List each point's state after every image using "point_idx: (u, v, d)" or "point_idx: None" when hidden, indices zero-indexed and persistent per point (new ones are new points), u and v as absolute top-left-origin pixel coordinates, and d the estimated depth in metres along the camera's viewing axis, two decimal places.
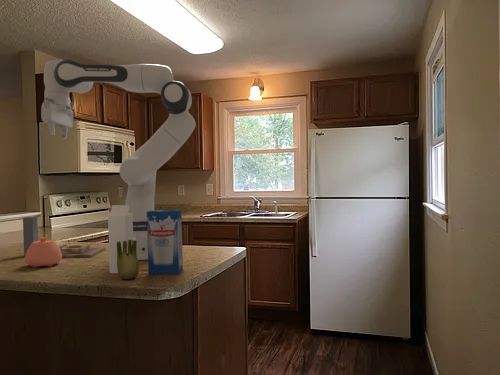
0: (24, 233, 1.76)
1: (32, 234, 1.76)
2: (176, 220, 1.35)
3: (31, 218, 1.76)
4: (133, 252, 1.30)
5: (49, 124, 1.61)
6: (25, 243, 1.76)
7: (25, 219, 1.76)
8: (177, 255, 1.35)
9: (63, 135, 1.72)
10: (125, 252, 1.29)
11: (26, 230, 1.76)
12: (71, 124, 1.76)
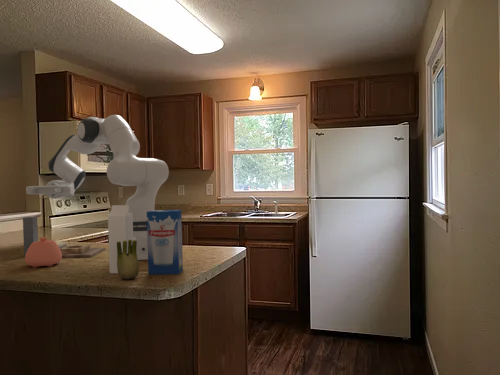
0: (24, 233, 1.76)
1: (32, 234, 1.76)
2: (176, 220, 1.35)
3: (31, 218, 1.76)
4: (133, 252, 1.30)
5: None
6: (25, 243, 1.76)
7: (25, 219, 1.76)
8: (177, 255, 1.35)
9: None
10: (125, 252, 1.29)
11: (26, 230, 1.76)
12: (66, 185, 1.96)
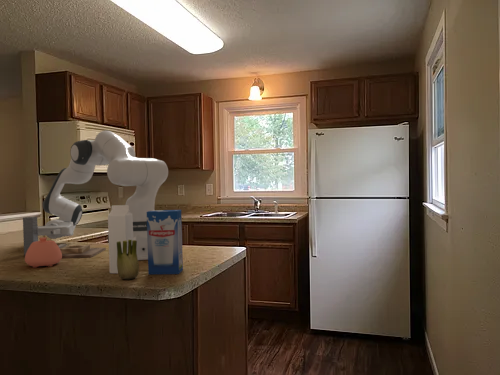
0: (24, 233, 1.76)
1: (32, 234, 1.76)
2: (176, 220, 1.35)
3: (31, 218, 1.76)
4: (133, 252, 1.30)
5: None
6: (25, 243, 1.76)
7: (25, 219, 1.76)
8: (177, 255, 1.35)
9: None
10: (125, 252, 1.29)
11: (26, 230, 1.76)
12: (65, 226, 1.93)
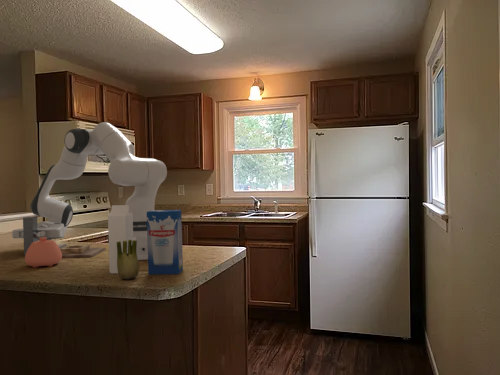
0: (24, 233, 1.76)
1: (32, 234, 1.76)
2: (176, 220, 1.35)
3: (31, 218, 1.76)
4: (133, 252, 1.30)
5: None
6: (25, 243, 1.76)
7: (25, 219, 1.76)
8: (177, 255, 1.35)
9: None
10: (125, 252, 1.29)
11: (26, 230, 1.76)
12: (55, 228, 1.83)
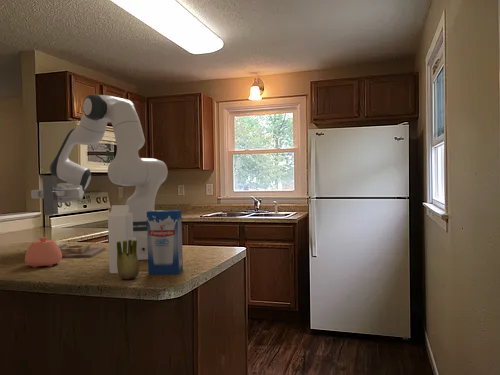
0: (44, 191, 1.75)
1: (52, 192, 1.76)
2: (176, 220, 1.35)
3: (51, 176, 1.75)
4: (133, 252, 1.30)
5: None
6: (45, 202, 1.76)
7: (45, 177, 1.75)
8: (177, 255, 1.35)
9: None
10: (125, 252, 1.29)
11: (45, 188, 1.75)
12: (75, 188, 1.83)
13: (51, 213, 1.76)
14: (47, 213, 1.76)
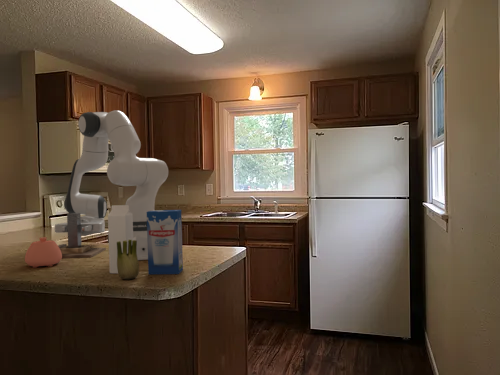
0: (68, 229, 1.76)
1: (77, 230, 1.76)
2: (176, 220, 1.35)
3: (75, 214, 1.76)
4: (133, 252, 1.30)
5: None
6: (69, 239, 1.76)
7: (69, 215, 1.76)
8: (177, 255, 1.35)
9: None
10: (125, 252, 1.29)
11: (70, 226, 1.76)
12: (98, 222, 1.84)
13: None
14: None
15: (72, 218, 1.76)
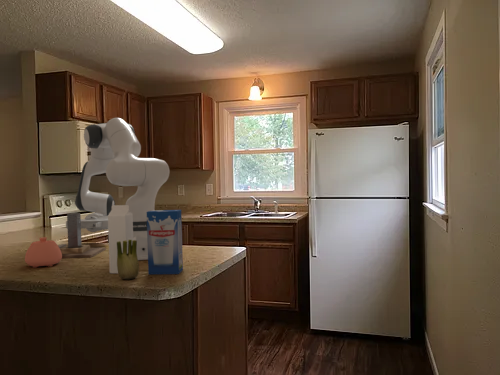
0: (68, 229, 1.76)
1: (77, 230, 1.76)
2: (176, 220, 1.35)
3: (75, 214, 1.76)
4: (133, 252, 1.30)
5: None
6: (69, 239, 1.76)
7: (69, 215, 1.76)
8: (177, 255, 1.35)
9: None
10: (125, 252, 1.29)
11: (70, 226, 1.76)
12: (106, 219, 1.96)
13: None
14: None
15: (72, 218, 1.76)
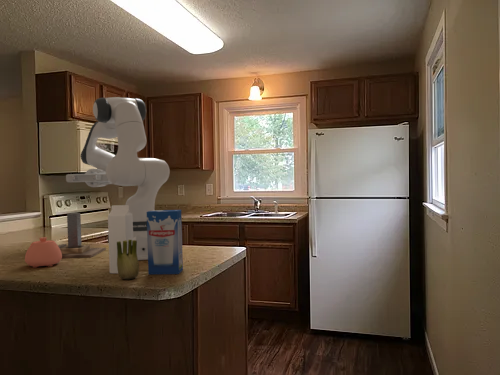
0: (68, 229, 1.76)
1: (77, 230, 1.76)
2: (176, 220, 1.35)
3: (75, 214, 1.76)
4: (133, 252, 1.30)
5: None
6: (69, 239, 1.76)
7: (69, 215, 1.76)
8: (177, 255, 1.35)
9: None
10: (125, 252, 1.29)
11: (70, 226, 1.76)
12: None
13: None
14: None
15: (72, 218, 1.76)
